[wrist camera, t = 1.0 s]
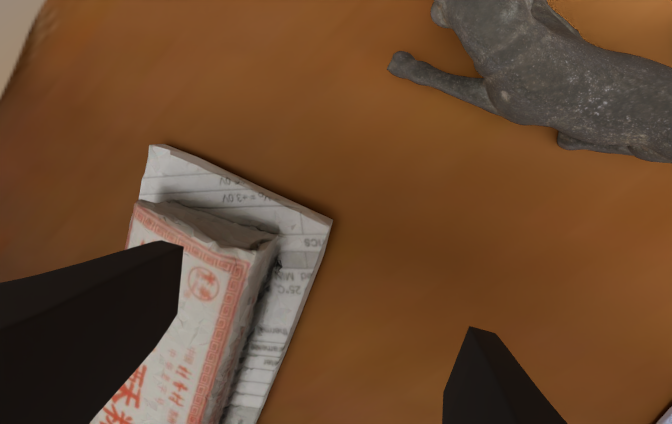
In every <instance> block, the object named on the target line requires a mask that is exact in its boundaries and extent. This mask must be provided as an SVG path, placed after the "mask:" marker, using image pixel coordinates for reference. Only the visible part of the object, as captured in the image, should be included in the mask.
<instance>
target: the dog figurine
mask: <svg viewBox="0 0 672 424" xmlns="http://www.w3.org/2000/svg"><path fill="white" fill-rule="evenodd" d="M431 18H432V20H433V21H434V22H435V23H436V24H437V25H438V26H440V27H443V28H450V29H453V30H454V31H455V33H456V35H457V36H458V38H459V39H460V41H461V43H462V45H463V47H464V49H465V50H466V52H467V53H468V54H469V56H470V57H471V58H472V60H473V62H474V67H475V69H476V71H477V72H478V73H479V74H480V75H481V76H482V77H484V78H471V77H465V76H458V75H453V74H449V73H446V72H443V71H441V70H439V69H437V68H435V67H433V66H431V65H430V64H428V63H426V62H423V61H417V60H415V58H414V57H413V56H412V55H411V54H409V53H408V52H404V51H398V52H396V53H395V54H394V55H393V58H392V60H391V62H390V64H389V65H388V67H387V70H389V71H390V72H391V73H392V74H393V75H395V76H397V77H400V78H407V79H409V80H411V81H413V82H414V83H417V84H420V85H425V86H431V87H434V88H436V89H439V90H441V91H443V92H444V93H447V94H449V95H452V96H454V97H456V98H458V99H461V100H463V101H466V102H468V103H471V104H473V105H475V106H478V107H480V108H482V109H484V110H486V111H488V112H490V113H493V114H496V115H499V116H502V117H504V118H506V119H507V120H509V121H511V122H514V123H517V124H520V125H538V126H546V127H552V128H555V129H557V130H558V131H559V133H558V138H557V143H558V145H559V146H560V147H561V148H563V149H566V150H580V149H586V150H592V151H596V152H603V153H615V154H624V155H633V156H635V157H637V158H639V159H642V160H646V161H651V162H662V163H672V68H670V67H668V66H666V65H663V64H661V63H658V62H655V61H653V60H650V59H646V58H643V57H640V56H635V55H631V54H626V53H620V52H614V51H610V50H606V49H602V48H599V47H597V46H594V45H592V44H590V43H588V42H586V41H585V40H584V39H583V38H582V37H581V36H580V33H579V32H578V31H577V30H576V29H574V28H573V27H572V26H571V25H570V24H569V23H568V22H567V21H566V20H565V19H564V18H563V17H561V16H560V15H559V14H557V13H556V12H555V11H554V10H553V9H552V8H551V7H550V6H549V5H548V4H547V0H434V3H433V5H432V7H431Z"/></svg>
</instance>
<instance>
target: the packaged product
mask: <svg viewBox="0 0 672 424" xmlns="http://www.w3.org/2000/svg"><path fill="white" fill-rule="evenodd" d="M332 222H333V219H330V218H328V217H326V216H324V215H322V214H319V213H317V212H315V211H313V210H311V209H308V208H306V207H304V206H302V205H300V204H297V203H295V202H293V201H291V200H289V199H286V198H284V197H282V196H280V195H278V194H275V193H273V192H271V191H269V190H267V189H264V188H262V187H260V186H258V185H256V184H254V183H252V182H250V181H247V180H245V179H243V178H241V177H239V176H237V175H235V174H232V173H230V172H228V171H226V170H224V169H222V168H220V167H218V166H215V165H213V164H211V163H209V162H207V161H205V160H203V159H201V158H198V157H196V156H193V155H191V154H188V153H186V152H183V151H181V150H178V149H176V148H173V147H171V146H168V145H166V144H154V145H149V154H148V160H147V165H146V171H145V174H144V176H143V178H142V182H141V188H140V194H139V200H138V201H136V203H135V204H134V211H133V214H132V218H131V221H130V225H129V232H128V236H127V241H126V246H125V250H126V249H129V248H133V247H136V246H139V245H143V244H146V243H150V242H154V241H159V240H163V241H166V242H170V243H173V244H177V245H181V246H184V250H183V261H182V272H181V282H180V293H179V304H178V314H177V316H176V317H175V319H174V320H173V322H172V324H171V325H170V327H169V328H168V330H167V331H166V333H165V334H164V336H163V337H162V339H161V340H160V342H159V343H158V345H157V346H156V347H155V348H154V350H153V351H152V352H151V353H150V354H149V356H148V357H147V358H146V359H145V360H144V361H143V363H142V364H141V365H140V366H139V367H138V368H137V369H136V371H135V372H134V373H133V374H132V375H131V376H130V377H129V379H128V380H127V381H126V382H125V383H124V384H123V385H122V387H121V388H120V389H119V390H118V391H117V392H116V393H115V395H114V396H113V397H112V398H111V399H110V400H109V401H108V402H107V404H106V405H105V406H104V407H103V408H102V409H101V410H100V412H99V413H98V414H97V415H96V416H95V417H94V418H93V420H92V421H91V422H90V423H89V424H256V422H257V420H258V417H259V415H260V413H261V410H262V408H263V406H264V404H265V401H266V399H267V396H268V394H269V391H270V389H271V386H272V384H273V382H274V379H275V377H276V375H277V372H278V370H279V368H280V365H281V363H282V361H283V358H284V356H285V354H286V351H287V348H288V346H289V343H290V341H291V338H292V336H293V333H294V331H295V328H296V325H297V323H298V320H299V318H300V315H301V313H302V310H303V307H304V305H305V302H306V300H307V297H308V294H309V292H310V289H311V287H312V284H313V282H314V279H315V276H316V274H317V271H318V269H319V266H320V263H321V261H322V258H323V256H324V252H325V249H326V245H327V241H328V237H329V234H330V230H331V226H332Z"/></svg>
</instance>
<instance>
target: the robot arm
mask: <svg viewBox="0 0 672 424" xmlns="http://www.w3.org/2000/svg"><path fill="white" fill-rule="evenodd" d="M183 250H184V246H181V245H177V244H173V243H170V242H166V241H163V240H159V241H154V242H150V243H146V244H143V245H139V246H136V247H133V248H129V249H126V250H123V251H120V252H116V253H113V254H110V255H106V256H103V257H100V258H97V259H93V260H90V261H87V262H83V263H80V264H76V265H72V266H69V267H65V268H61V269H57V270H54V271H50V272H46V273H42V274H39V275H35V276H30V277H26V278H22V279H17V280H12V281H8V282H2V283H0V424H89V423H90V422H91V421H92V420H93V418H94V417H95V416H96V415H97V414H98V413H99V412H100V410H101V409H102V408H103V407H104V406H105V405H106V404H107V402H108V401H109V400H110V399H111V398H112V397H113V396H114V395H115V393H116V392H117V391H118V390H119V389H120V388H121V387H122V385H123V384H124V383H125V382H126V381H127V380H128V379H129V377H130V376H131V375H132V374H133V373H134V372H135V371H136V369H137V368H138V367H139V366H140V365H141V364H142V363H143V361H144V360H145V359H146V358H147V357H148V356H149V354H150V353H151V352H152V351H153V350H154V348H155V347H156V346H157V345H158V343H159V342H160V340H161V339H162V337H163V336H164V334H165V333H166V331H167V330H168V328H169V327H170V325H171V324H172V322H173V320H174V319H175V317H176V316H177V314H178V304H179V293H180V282H181V272H182V261H183ZM442 424H567V422H566V421H565V420H564V419H563V418H562V417H561V416H560V415H559V413H558V412H557V411H556V410H555V409H554V407H553V406H552V405H551V404H550V403H549V401H548V400H547V399H546V398H545V396H544V395H543V394H542V393H541V391H540V390H539V389H538V388H537V386H536V385H535V384H534V383H533V381H532V380H531V379H530V377H529V376H528V375H527V373H526V372H525V371H524V370H523V368H522V367H521V366H520V364H519V363H518V362H517V360H516V359H515V358H514V356H513V355H512V354H511V352H510V351H509V350H508V348H507V347H506V346H505V345H504V343H503V342H502V341H501V340H500V338H499V337H498V336H497V335H496V334H495V333H492V332H489V331H485V330H482V329H478V328H474V327H471V326H469V329H468V331H467V334H466V336H465V339H464V341H463V344H462V346H461V349H460V351H459V354H458V357H457V359H456V362H455V364H454V367H453V369H452V372H451V374H450V377H449V379H448V382H447V384H446V387H445V390H444V394H443V419H442ZM656 424H672V406H671V407H670V408H669V410H668V411H667V412H666V413H665V414H664V415H663V416H662V417H661V418H660V419H659V421H658V422H657V423H656Z"/></svg>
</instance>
